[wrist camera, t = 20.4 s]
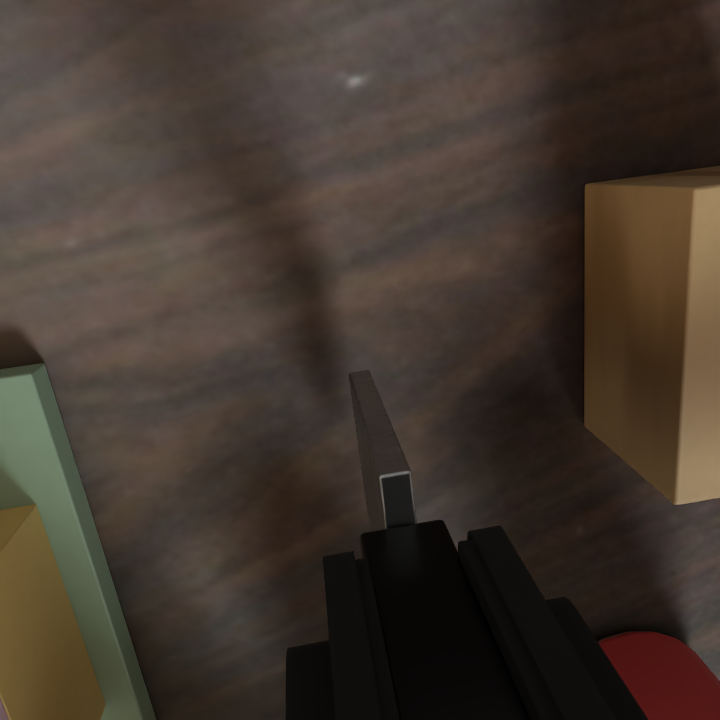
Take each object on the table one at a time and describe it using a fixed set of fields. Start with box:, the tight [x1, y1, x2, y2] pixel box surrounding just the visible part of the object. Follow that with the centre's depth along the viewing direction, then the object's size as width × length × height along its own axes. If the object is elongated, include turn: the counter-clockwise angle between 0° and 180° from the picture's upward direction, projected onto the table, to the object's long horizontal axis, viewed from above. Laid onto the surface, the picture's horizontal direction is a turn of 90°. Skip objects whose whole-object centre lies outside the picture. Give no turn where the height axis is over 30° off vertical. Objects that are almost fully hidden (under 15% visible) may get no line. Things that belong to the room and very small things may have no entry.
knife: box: [349, 370, 531, 720], centre depth 11 cm, size 4×2×12 cm, turn 7°
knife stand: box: [584, 166, 720, 505], centre depth 16 cm, size 8×5×5 cm, turn 7°
